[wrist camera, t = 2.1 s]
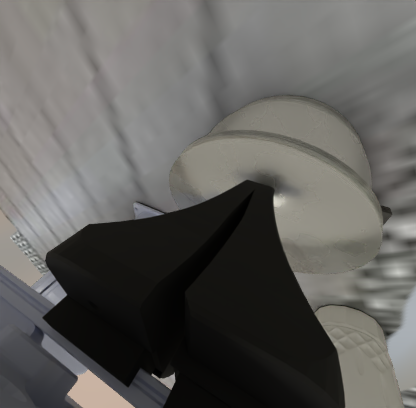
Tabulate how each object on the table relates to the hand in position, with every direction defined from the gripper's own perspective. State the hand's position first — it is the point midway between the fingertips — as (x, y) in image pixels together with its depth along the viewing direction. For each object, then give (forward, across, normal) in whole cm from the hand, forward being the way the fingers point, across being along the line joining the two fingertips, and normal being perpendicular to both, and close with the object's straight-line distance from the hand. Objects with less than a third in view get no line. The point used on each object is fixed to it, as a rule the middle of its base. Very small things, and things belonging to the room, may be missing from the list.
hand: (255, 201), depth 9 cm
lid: (+4, 0, +4) cm, 5 cm away
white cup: (+10, -13, +19) cm, 25 cm away
